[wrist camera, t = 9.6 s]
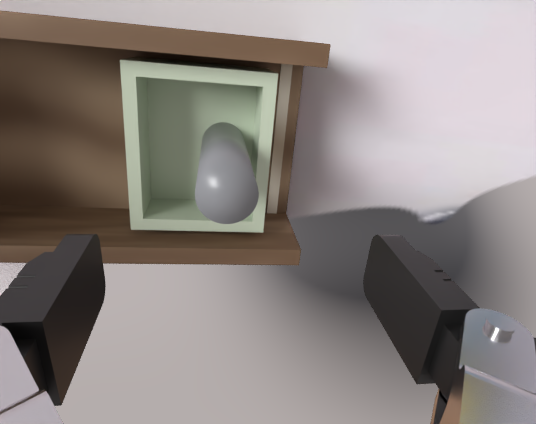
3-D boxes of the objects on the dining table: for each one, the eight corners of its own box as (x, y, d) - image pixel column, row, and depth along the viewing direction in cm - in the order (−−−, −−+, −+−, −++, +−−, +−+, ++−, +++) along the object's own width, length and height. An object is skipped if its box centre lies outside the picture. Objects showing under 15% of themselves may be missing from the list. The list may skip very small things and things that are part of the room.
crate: (135, 56, 25) (82, 67, 15) (268, 68, 26) (300, 85, 16) (142, 203, 29) (104, 287, 19) (256, 207, 30) (276, 287, 20)
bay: (-79, 5, 23) (-190, -9, 17) (303, 43, 27) (330, 44, 20) (-27, 212, 29) (-96, 261, 22) (282, 221, 32) (298, 265, 26)
